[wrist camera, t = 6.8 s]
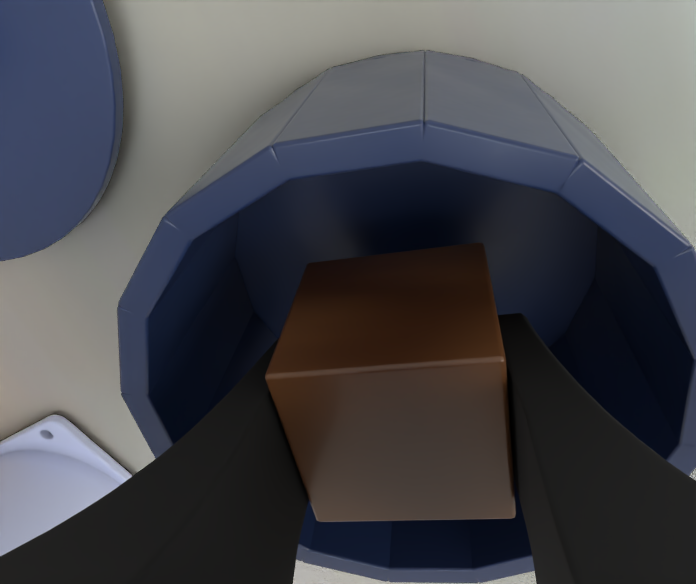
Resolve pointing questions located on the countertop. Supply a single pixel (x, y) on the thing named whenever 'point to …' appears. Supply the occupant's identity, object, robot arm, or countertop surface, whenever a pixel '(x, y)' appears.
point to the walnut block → (397, 388)
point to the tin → (414, 234)
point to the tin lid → (55, 118)
